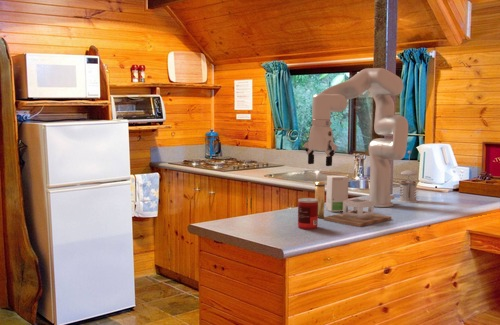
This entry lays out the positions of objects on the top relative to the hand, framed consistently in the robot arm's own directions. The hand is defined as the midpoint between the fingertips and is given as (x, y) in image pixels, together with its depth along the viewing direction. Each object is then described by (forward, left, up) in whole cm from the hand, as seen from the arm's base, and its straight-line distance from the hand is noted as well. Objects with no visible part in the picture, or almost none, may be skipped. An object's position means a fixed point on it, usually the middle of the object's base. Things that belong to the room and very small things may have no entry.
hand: (319, 164), depth 252 cm
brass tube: (0, 0, -22) cm, 22 cm away
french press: (-64, +3, -23) cm, 68 cm away
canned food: (+19, +10, -23) cm, 31 cm away
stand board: (-8, +14, -22) cm, 28 cm away
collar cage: (-8, +14, -21) cm, 27 cm away
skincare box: (-18, -5, -23) cm, 30 cm away
